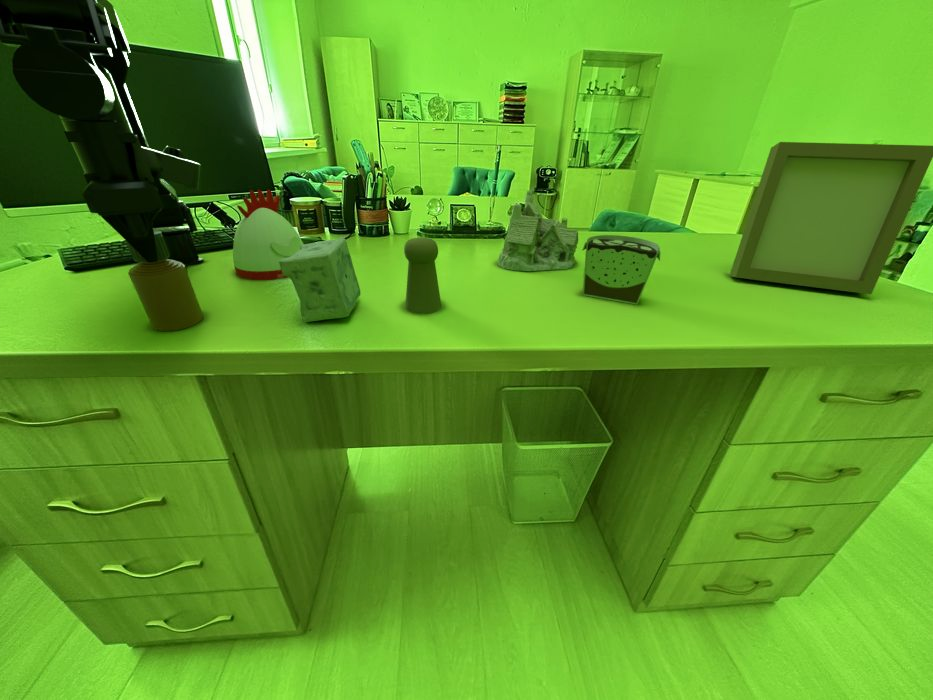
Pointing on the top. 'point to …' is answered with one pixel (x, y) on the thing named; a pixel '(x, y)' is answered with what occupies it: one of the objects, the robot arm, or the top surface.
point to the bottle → (166, 294)
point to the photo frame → (829, 213)
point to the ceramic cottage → (537, 241)
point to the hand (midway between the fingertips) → (152, 258)
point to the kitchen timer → (263, 239)
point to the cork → (422, 276)
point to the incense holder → (323, 279)
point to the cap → (160, 246)
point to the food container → (618, 267)
